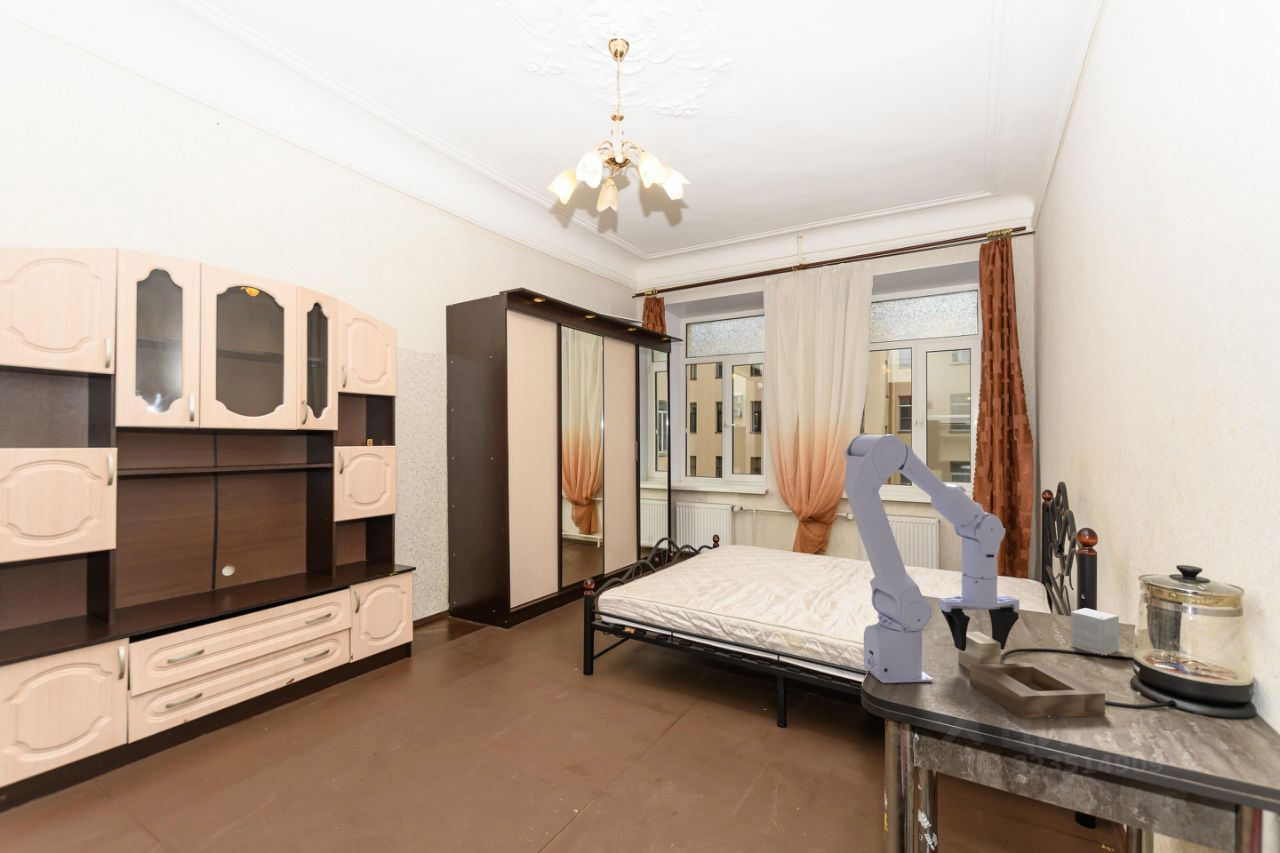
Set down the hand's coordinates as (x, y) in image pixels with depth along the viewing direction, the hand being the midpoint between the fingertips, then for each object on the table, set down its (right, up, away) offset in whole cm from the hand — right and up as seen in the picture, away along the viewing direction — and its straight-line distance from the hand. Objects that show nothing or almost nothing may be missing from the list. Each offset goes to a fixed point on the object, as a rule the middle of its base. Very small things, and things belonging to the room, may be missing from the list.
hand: (979, 648), depth 107 cm
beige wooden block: (0, -4, 0) cm, 4 cm away
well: (+2, -4, -12) cm, 13 cm away
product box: (+30, -5, +11) cm, 32 cm away
